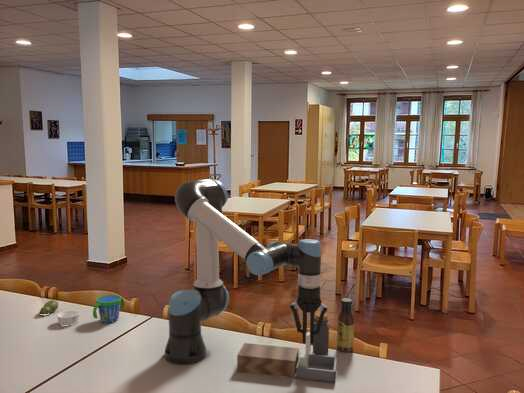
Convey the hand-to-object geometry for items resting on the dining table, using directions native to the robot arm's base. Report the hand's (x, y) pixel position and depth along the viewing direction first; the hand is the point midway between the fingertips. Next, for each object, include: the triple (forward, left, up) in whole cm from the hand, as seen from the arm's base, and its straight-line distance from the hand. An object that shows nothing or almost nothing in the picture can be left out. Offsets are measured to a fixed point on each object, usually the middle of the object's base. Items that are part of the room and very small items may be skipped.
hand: (308, 351), depth 158 cm
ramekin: (-107, +21, -8) cm, 109 cm away
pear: (-123, +30, -8) cm, 127 cm away
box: (+3, 0, -7) cm, 8 cm away
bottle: (+3, +16, -8) cm, 18 cm away
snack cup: (-91, +28, -8) cm, 96 cm away
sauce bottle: (+12, +21, -8) cm, 25 cm away
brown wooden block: (-14, 0, -7) cm, 16 cm away
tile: (-3, 0, -4) cm, 5 cm away
